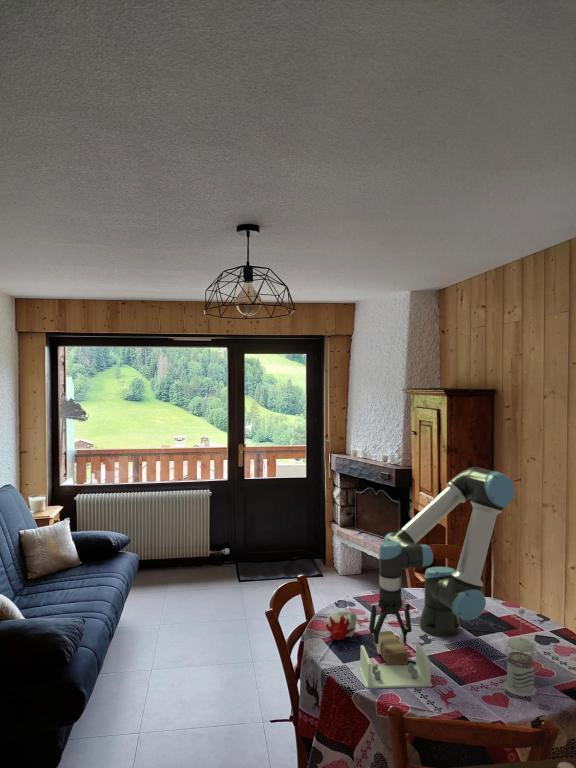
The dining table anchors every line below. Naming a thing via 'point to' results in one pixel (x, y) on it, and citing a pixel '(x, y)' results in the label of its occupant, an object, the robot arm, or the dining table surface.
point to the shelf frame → (396, 672)
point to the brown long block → (392, 649)
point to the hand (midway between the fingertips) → (390, 651)
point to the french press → (516, 680)
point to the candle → (341, 624)
